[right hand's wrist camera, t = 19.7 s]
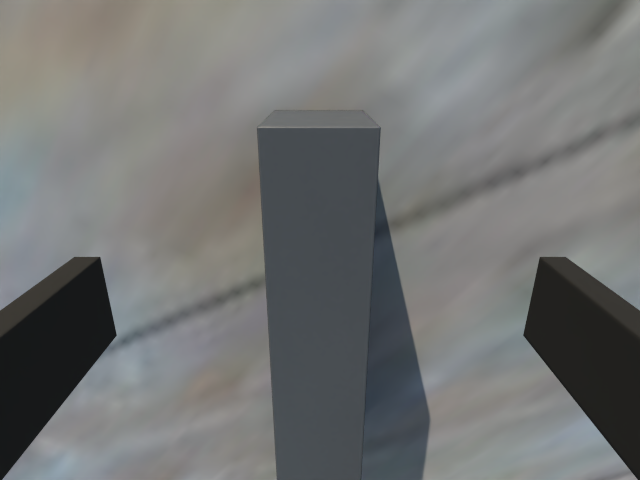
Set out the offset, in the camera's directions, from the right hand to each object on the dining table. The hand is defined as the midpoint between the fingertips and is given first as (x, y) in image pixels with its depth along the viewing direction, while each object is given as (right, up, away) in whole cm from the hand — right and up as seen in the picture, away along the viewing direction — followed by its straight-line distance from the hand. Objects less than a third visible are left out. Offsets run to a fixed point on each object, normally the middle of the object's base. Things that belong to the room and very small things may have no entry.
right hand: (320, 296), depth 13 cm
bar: (0, -2, +19) cm, 19 cm away
